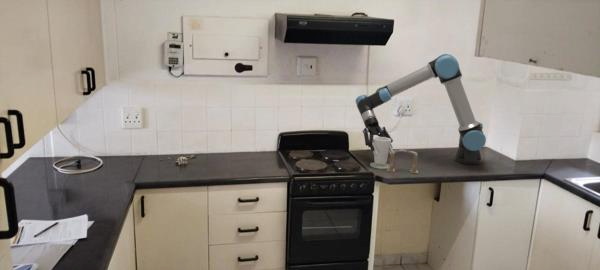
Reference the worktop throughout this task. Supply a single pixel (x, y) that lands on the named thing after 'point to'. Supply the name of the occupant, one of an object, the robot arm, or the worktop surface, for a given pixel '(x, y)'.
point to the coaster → (380, 165)
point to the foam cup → (381, 149)
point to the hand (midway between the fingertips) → (384, 155)
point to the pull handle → (413, 161)
